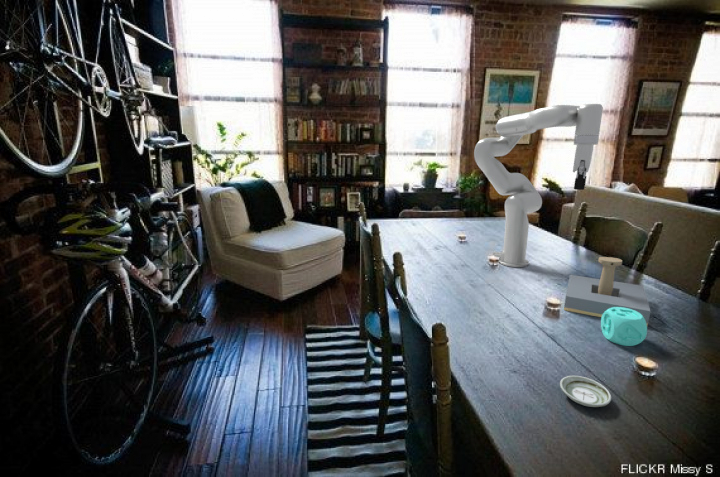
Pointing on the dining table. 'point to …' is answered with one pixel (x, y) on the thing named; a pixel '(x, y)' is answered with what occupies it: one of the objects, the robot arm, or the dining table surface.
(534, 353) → the dining table surface
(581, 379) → the saucer
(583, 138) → the robot arm
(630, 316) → the decorative dice
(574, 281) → the socket block
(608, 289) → the handle
